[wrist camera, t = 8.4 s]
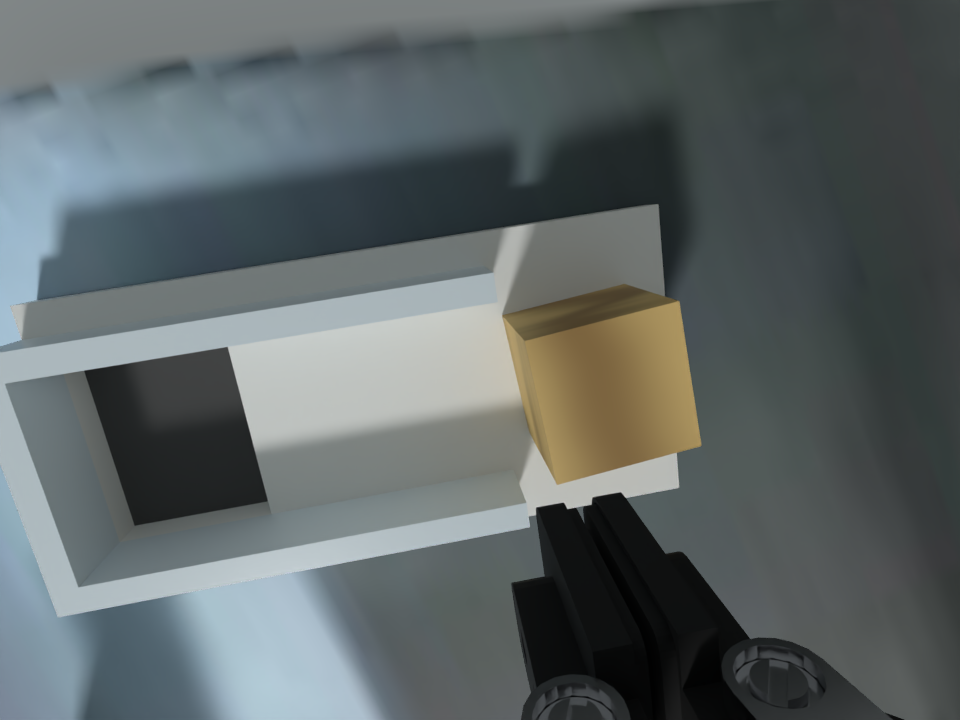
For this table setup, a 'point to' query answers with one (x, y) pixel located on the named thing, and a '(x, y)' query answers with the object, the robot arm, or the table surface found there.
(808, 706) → the robot arm
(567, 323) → the block
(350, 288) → the channel
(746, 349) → the table surface
